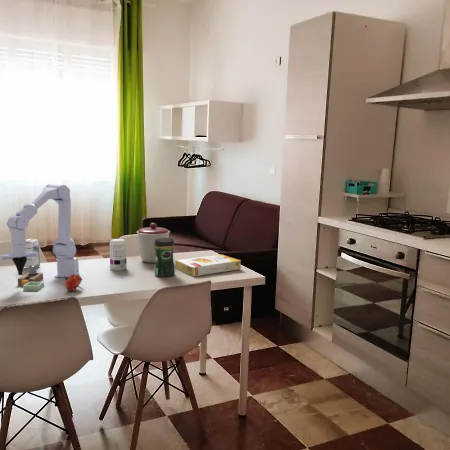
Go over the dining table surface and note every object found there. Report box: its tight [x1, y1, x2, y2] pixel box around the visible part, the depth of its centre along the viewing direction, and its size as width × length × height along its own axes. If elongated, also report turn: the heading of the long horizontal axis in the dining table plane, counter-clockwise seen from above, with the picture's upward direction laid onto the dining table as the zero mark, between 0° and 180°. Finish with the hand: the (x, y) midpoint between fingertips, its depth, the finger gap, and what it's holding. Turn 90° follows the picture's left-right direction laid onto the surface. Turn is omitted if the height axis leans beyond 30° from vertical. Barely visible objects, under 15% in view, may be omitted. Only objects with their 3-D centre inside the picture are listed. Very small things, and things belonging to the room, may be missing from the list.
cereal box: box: [174, 254, 242, 277], centre depth 245 cm, size 20×6×28 cm
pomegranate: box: [63, 274, 85, 293], centre depth 204 cm, size 7×7×10 cm
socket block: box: [17, 272, 44, 286], centre depth 216 cm, size 7×11×3 cm, turn 0°
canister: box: [136, 222, 171, 264], centre depth 260 cm, size 18×18×21 cm
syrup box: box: [24, 238, 41, 268], centre depth 241 cm, size 6×6×14 cm
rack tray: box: [22, 281, 45, 292], centre depth 206 cm, size 6×6×2 cm
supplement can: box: [109, 238, 128, 271], centre depth 242 cm, size 8×8×15 cm
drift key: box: [21, 279, 29, 287], centre depth 213 cm, size 3×6×3 cm, turn 0°
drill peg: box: [28, 265, 38, 276], centre depth 218 cm, size 3×3×7 cm
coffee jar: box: [153, 237, 176, 278], centre depth 231 cm, size 10×8×19 cm
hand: (20, 274), depth 205 cm, fingers closed
